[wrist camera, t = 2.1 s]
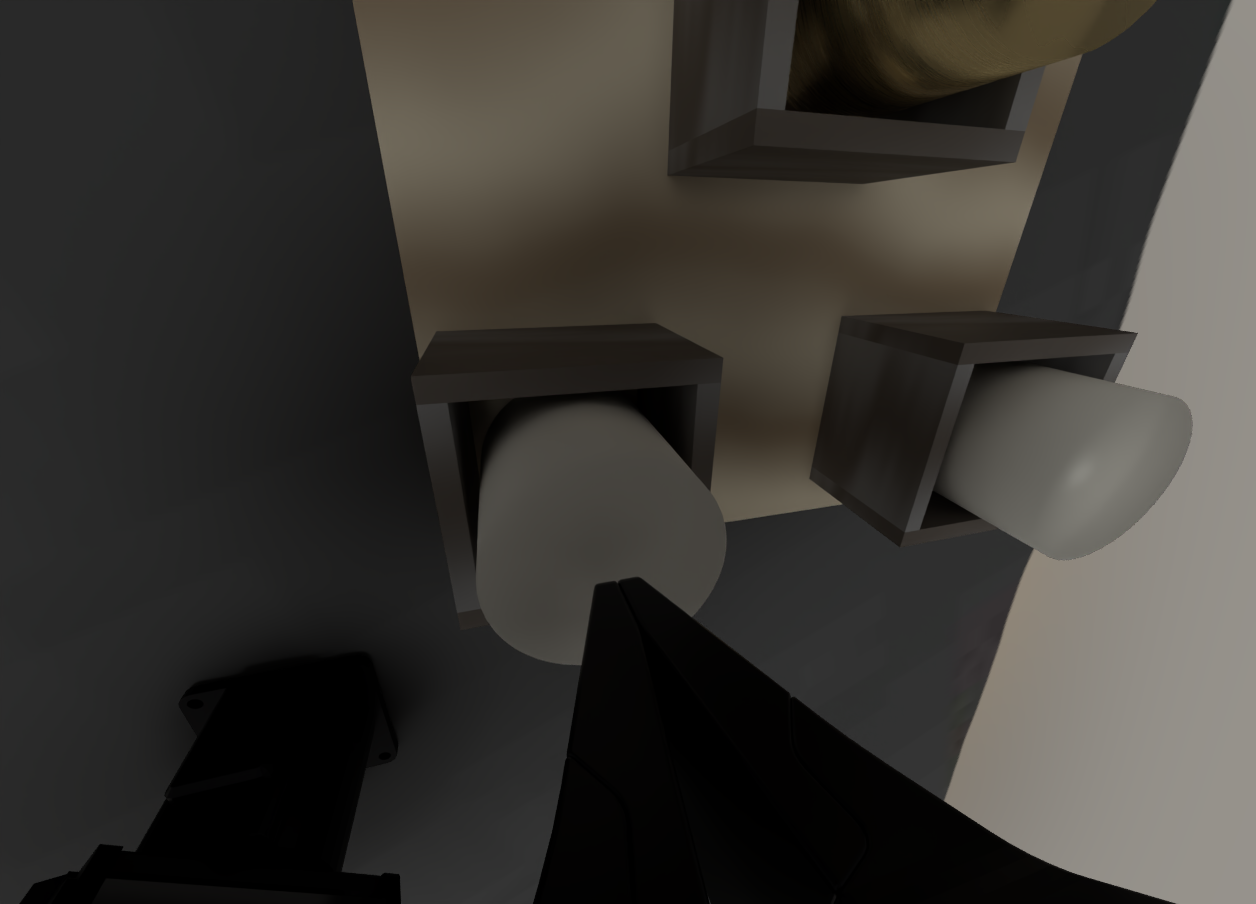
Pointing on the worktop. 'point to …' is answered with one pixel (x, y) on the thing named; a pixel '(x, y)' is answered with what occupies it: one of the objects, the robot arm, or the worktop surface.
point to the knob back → (1061, 455)
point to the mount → (703, 249)
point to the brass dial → (935, 47)
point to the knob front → (585, 518)
